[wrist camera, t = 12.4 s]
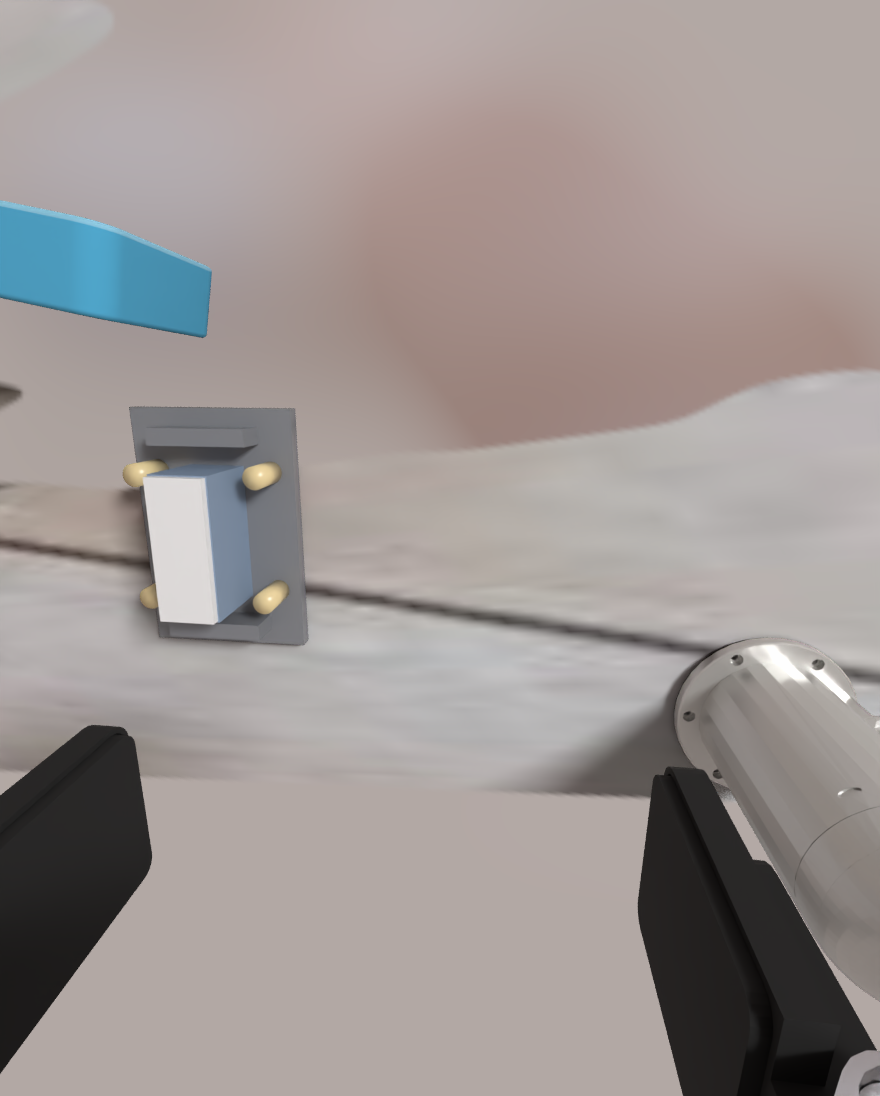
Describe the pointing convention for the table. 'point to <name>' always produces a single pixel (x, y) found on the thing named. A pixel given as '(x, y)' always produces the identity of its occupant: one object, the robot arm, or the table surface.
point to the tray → (270, 500)
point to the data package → (99, 272)
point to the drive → (199, 541)
